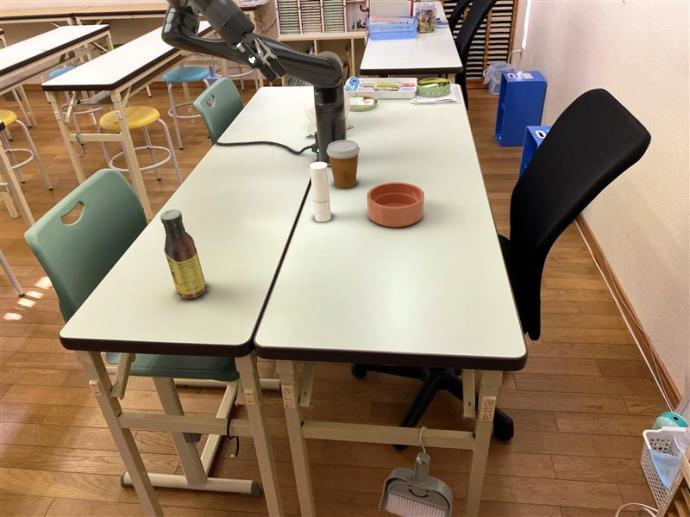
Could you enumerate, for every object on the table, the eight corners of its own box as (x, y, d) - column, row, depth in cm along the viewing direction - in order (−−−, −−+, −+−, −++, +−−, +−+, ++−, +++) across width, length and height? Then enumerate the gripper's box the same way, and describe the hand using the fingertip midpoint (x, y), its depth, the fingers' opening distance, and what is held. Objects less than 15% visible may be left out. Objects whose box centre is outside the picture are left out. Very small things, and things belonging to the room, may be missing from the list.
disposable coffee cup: (366, 179, 156) (364, 141, 149) (353, 193, 149) (351, 153, 142) (337, 175, 159) (335, 137, 153) (323, 188, 152) (320, 149, 146)
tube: (329, 222, 136) (324, 169, 127) (313, 221, 137) (308, 168, 128) (332, 214, 139) (328, 162, 131) (317, 213, 140) (312, 161, 132)
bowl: (356, 218, 137) (355, 198, 133) (389, 197, 146) (388, 177, 142) (402, 235, 129) (403, 213, 125) (433, 211, 138) (434, 191, 134)
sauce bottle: (180, 284, 116) (158, 206, 105) (208, 282, 116) (189, 203, 105) (175, 302, 111) (150, 222, 100) (204, 300, 111) (183, 219, 100)
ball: (352, 98, 201) (340, 50, 180) (359, 150, 190) (346, 106, 169) (309, 107, 203) (291, 61, 182) (313, 159, 192) (295, 116, 171)
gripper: (229, 31, 125) (277, 84, 129) (207, 35, 113) (260, 93, 117) (249, 8, 122) (297, 62, 126) (228, 9, 110) (282, 69, 113)
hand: (279, 77), depth 121 cm, fingers open, 8 cm apart
